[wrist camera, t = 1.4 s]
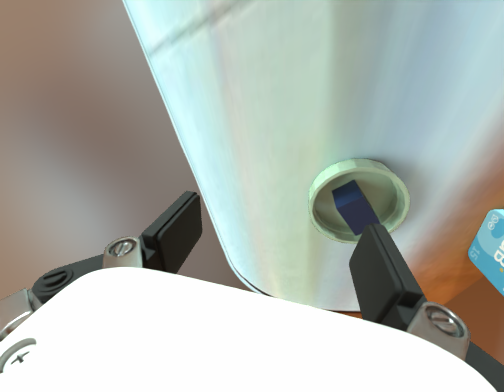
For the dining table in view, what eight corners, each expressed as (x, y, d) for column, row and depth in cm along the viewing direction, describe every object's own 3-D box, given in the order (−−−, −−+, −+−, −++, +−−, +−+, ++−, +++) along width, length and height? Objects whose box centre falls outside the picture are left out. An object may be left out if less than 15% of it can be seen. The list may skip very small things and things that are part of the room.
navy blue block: (354, 179, 38) (362, 196, 32) (371, 205, 40) (382, 226, 34) (331, 190, 40) (335, 208, 35) (348, 215, 42) (355, 236, 36)
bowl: (374, 139, 34) (383, 147, 30) (413, 208, 39) (425, 222, 35) (293, 186, 42) (292, 197, 38) (333, 239, 46) (336, 254, 43)
